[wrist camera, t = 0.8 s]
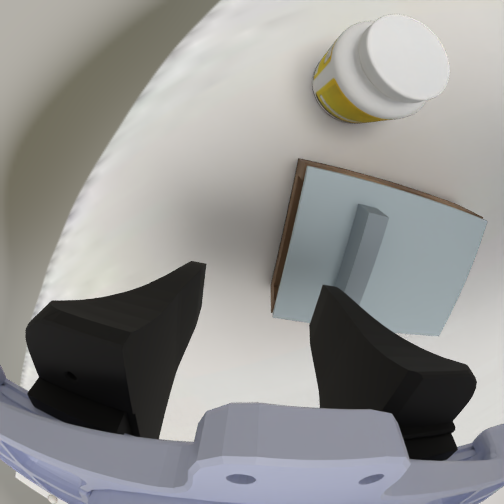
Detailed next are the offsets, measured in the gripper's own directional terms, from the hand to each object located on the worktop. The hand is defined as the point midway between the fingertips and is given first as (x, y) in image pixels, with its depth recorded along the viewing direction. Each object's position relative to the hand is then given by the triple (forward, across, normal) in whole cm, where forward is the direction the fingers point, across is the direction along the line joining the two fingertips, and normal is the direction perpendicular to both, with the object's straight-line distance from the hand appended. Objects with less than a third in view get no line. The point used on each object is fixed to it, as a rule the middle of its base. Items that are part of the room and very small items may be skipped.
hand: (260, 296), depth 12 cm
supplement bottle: (+11, -4, -11) cm, 16 cm away
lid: (+7, -9, 0) cm, 11 cm away
